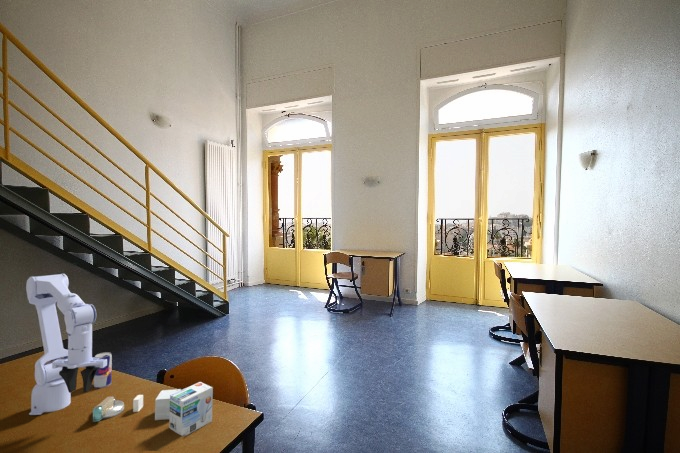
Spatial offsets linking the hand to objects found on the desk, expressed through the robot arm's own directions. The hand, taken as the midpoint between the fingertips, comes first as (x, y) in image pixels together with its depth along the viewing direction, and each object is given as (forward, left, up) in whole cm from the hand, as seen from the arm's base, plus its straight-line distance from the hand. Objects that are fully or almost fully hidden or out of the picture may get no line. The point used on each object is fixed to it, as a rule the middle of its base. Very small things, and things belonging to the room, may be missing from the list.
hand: (79, 390), depth 101 cm
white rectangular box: (+14, +7, -10) cm, 18 cm away
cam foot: (+6, +4, -9) cm, 12 cm away
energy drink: (-7, +24, -11) cm, 27 cm away
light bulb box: (+34, -1, -11) cm, 35 cm away
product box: (+25, +4, -11) cm, 27 cm away
